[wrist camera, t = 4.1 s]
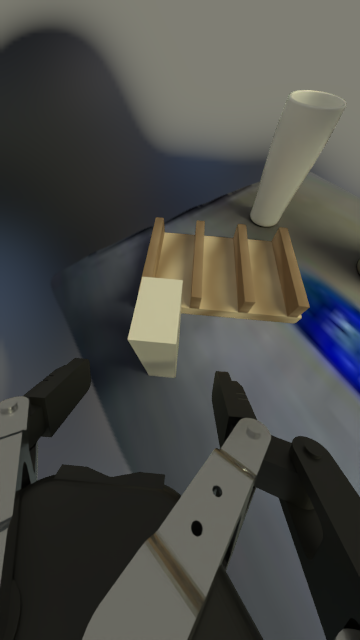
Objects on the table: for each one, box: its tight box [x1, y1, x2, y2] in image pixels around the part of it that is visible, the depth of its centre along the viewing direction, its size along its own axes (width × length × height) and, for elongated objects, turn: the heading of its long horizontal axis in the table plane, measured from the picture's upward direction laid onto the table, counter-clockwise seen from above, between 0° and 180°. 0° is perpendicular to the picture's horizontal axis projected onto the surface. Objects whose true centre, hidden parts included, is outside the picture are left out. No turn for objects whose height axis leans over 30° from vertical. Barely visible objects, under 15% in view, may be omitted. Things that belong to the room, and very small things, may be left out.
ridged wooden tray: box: [138, 217, 309, 323], centre depth 26 cm, size 21×14×4 cm, turn 85°
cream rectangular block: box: [128, 277, 183, 378], centre depth 17 cm, size 3×5×11 cm, turn 175°
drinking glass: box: [250, 90, 347, 227], centre depth 28 cm, size 7×7×15 cm
